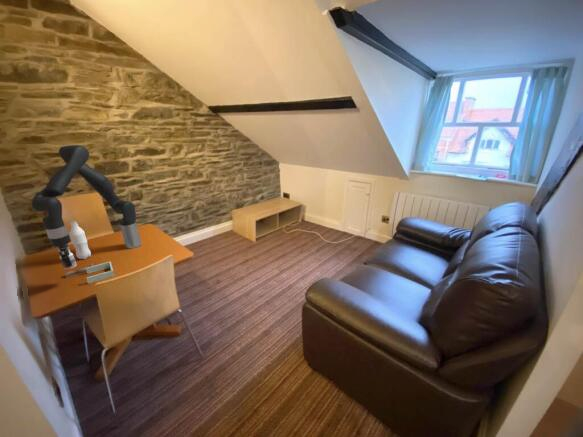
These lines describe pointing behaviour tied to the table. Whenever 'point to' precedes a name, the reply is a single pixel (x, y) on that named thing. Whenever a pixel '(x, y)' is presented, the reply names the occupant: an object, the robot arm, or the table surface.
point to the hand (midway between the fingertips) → (69, 263)
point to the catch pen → (102, 275)
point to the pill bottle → (70, 260)
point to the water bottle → (79, 241)
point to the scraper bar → (77, 271)
